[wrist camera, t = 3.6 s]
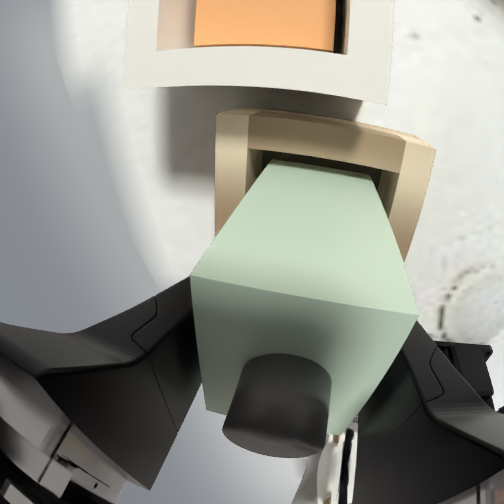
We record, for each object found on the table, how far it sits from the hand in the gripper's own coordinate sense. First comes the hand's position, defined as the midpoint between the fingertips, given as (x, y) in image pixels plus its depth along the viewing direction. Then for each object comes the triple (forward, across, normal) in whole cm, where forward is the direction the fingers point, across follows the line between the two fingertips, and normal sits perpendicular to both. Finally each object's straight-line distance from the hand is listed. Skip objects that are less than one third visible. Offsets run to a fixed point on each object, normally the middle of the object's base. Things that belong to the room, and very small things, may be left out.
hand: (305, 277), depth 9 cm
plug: (+4, 0, 0) cm, 4 cm away
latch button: (+4, +2, -10) cm, 11 cm away
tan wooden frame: (+6, 0, 0) cm, 6 cm away
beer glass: (+6, -7, +23) cm, 24 cm away
